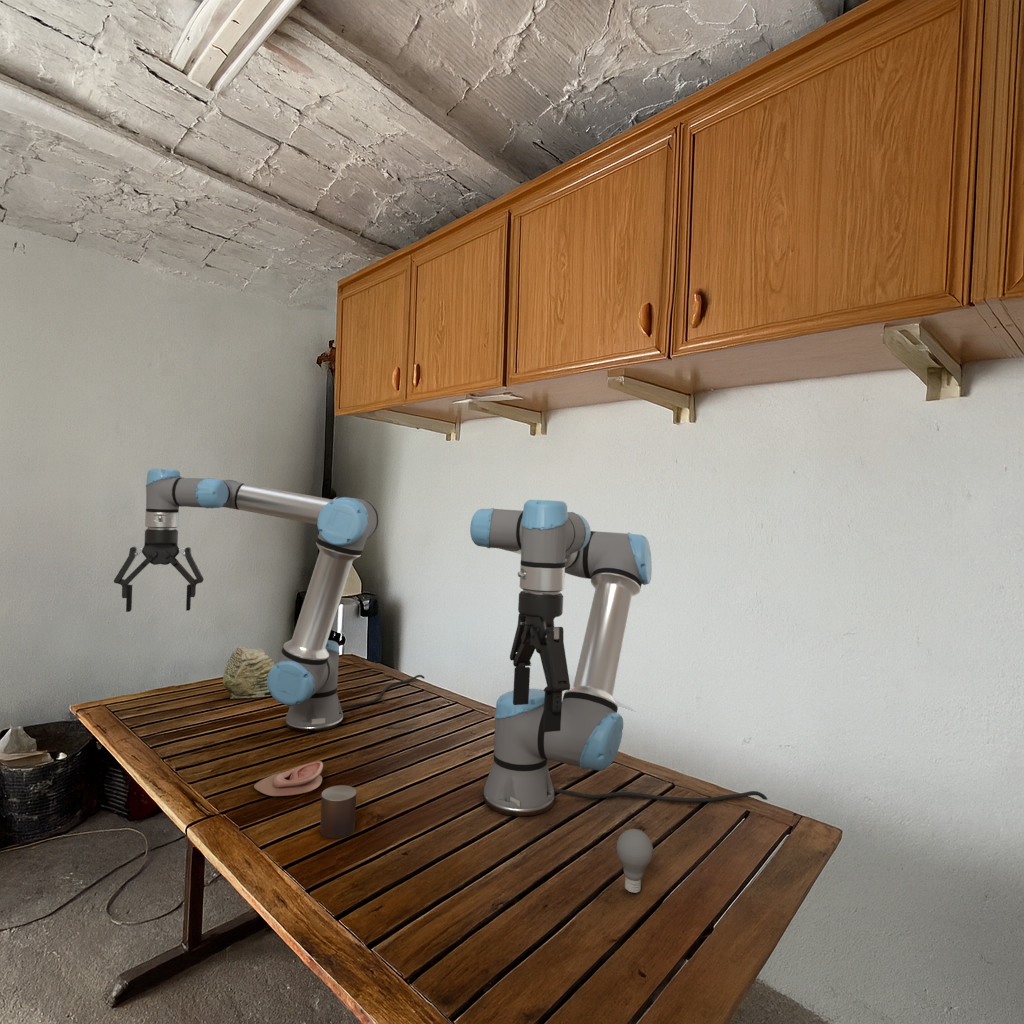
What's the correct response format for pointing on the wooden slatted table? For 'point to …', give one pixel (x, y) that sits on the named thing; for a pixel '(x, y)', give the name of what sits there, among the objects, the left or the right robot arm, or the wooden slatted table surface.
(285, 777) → the anatomical model
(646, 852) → the light bulb
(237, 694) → the fossil
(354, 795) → the can
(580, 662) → the right robot arm
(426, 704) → the wooden slatted table surface
